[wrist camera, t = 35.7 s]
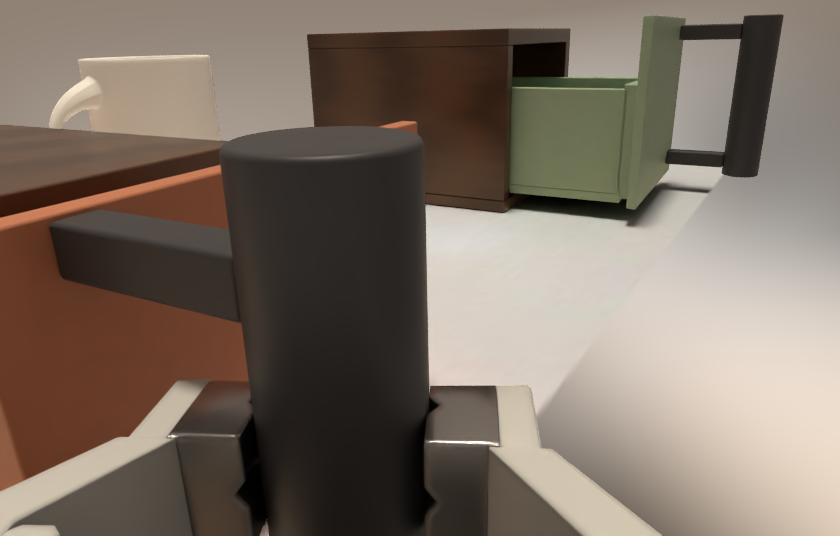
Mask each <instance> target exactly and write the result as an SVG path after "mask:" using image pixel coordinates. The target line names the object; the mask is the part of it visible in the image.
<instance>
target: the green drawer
mask: <svg viewBox="0 0 840 536" xmlns="http://www.w3.org/2000/svg"><path fill="white" fill-rule="evenodd" d="M685 20H686V19H685V18H678V17H668V16H658V15H644V19H643V30H642V41H641V52H640V62H639V74H638V78H615V77H614V78H611V77H610V78H609V77H608V78H606V77H600V78H599V77H512V104H511V141H510V179H509V192H510V193H520V194H531V195H541V196H552V197H562V198H572V199H583V200H593V201H603V202H614V203H619V202H620V201H621V200H622V199H627V203H626V208H627V209H636V208H637V207H638V206H639V204H640V203H641V202H642V201H643V200H644V198H645V197H646V196H647V195H648V194H649V192H650V191H651V190H652V189H653V188H654V186H655V185H656V184H657V183H658V181H659V180H660V179H661V178H662V177H663V175H664V174H665V173H666V172H667V171H668V169H669V164H680V165H695V166H710V167H722V166H723V167H722V174H724V175H728V176H732V177H754V176H757V175H758V169H759V162H760V156H761V150H762V144H763V138H764V132H765V126H766V120H767V113H768V107H769V101H770V95H771V89H772V83H773V77H774V71H775V65H776V58H777V52H778V46H779V40H780V34H781V27H782V22H783V15H751V16H744V21H743V24H712V25H711V24H709V25H685ZM704 39H705V40H706V39H741V42H740V49H739V55H738V63H737V70H736V77H735V83H734V91H733V98H732V105H731V111H730V118H729V125H728V132H727V139H726V146H725V153H724V152H714V151H713V152H712V151H695V150H678V149H671V143H672V134H673V126H674V117H675V108H676V99H677V90H678V81H679V73H680V63H681V55H682V47H683V40H704Z"/></svg>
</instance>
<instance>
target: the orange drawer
mask: <svg viewBox="0 0 840 536" xmlns="http://www.w3.org/2000/svg"><path fill="white" fill-rule="evenodd" d="M219 159H220V165H218V166H214V167H209V168H205V169H201V170H197V171H193V172H189V173H185V174H180V175H176V176H172V177H168V178H164V179H160V180H155V181H151V182H147V183H143V184H139V185H135V186H131V187H126V188H122V189H118V190H114V191H110V192H106V193H102V194H97V195H93V196H89V197H85V198H81V199H77V200H72V201H68V202H64V203H60V204H56V205H52V206H48V207H43V208H39V209H35V210H31V211H27V212H23V213H19V214H14V215H10V216H6V217H2V218H0V492H1V491H3V490H5V489H7V488H9V487H11V486H13V485H16V484H18V483H20V482H22V481H24V480H26V479H29V478H31V477H33V476H35V475H37V474H39V473H42V472H44V471H46V470H48V469H50V468H52V467H55V466H57V465H59V464H61V463H63V462H65V461H67V460H70V459H72V458H74V457H76V456H78V455H80V454H83V453H85V452H87V451H89V450H91V449H93V448H96V447H98V446H100V445H102V444H104V443H106V442H108V441H111V440H113V439H115V438H117V437H129V436H130V435H131V434H132V433H133V431H134V430H135V429H136V428H137V427H138V426H139V424H140V423H141V422H142V421H143V420H144V419H145V417H146V416H147V415H148V414H149V413H150V412H151V411H152V409H153V408H154V407H155V406H156V405H157V404H158V402H159V401H160V400H161V399H162V398H163V397H164V395H165V394H166V393H167V392H168V391H169V390H170V389H171V387H172V386H173V385H174V384H175V383H176V382H177V381H178V380H184V379H211V380H228V381H249V386H250V393H251V401H252V408H253V416H254V424H255V431H256V439H257V446H258V454H259V461H260V469H261V477H262V484H263V492H264V499H265V507H266V514H267V522H268V530H269V536H426V524H425V513H426V501H427V490H426V489H425V486H424V438H425V429H426V419H427V415H428V414H429V413H430V412H429V362H428V313H427V263H426V213H425V163H424V142H423V140H422V138H421V136H419V135H418V134H417V122H415V121H400V122H396V123H392V124H388V125H384V126H380V127H367V126H329V127H308V128H295V129H285V130H276V131H268V132H262V133H256V134H251V135H246V136H242V137H238V138H236V139H233V140H231V141H229V142H226V143H224V144H223V145H222V146H221V148H220V151H219Z"/></svg>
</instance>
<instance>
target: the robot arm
mask: <svg viewBox="0 0 840 536" xmlns="http://www.w3.org/2000/svg"><path fill="white" fill-rule="evenodd" d="M429 412H430V413H429V414H428V415H427V419H426V429H425V438H424V486H425V489H426V490H427V501H426V513H425V524H426V536H662V535H661V534H660V533H658V532H657V531H656V530H654V529H653V528H652V527H651V526H649V525H648V524H647V523H646V522H644V521H643V520H642V519H640V518H639V517H638V516H636V515H635V514H634V513H633V512H632V511H630V510H629V509H628V508H626V507H625V506H624V505H623V504H621V503H620V502H619V501H617V500H616V499H615V498H614V497H612V496H611V495H610V494H609V493H607V492H606V491H605V490H603V489H602V488H601V487H600V486H598V485H597V484H596V483H594V482H593V481H592V480H591V479H589V478H588V477H587V476H586V475H584V474H583V473H582V472H581V471H579V470H578V469H577V468H575V467H574V466H573V465H572V464H570V463H569V462H568V461H567V460H565V459H564V458H563V457H561V456H560V455H559V454H558V453H556V452H555V451H554V450H552V449H546V448H541V442H540V436H539V430H538V425H537V419H536V413H535V408H534V402H533V396H532V391H531V388H530V387H529V386H528V385H521V386H430V393H429ZM266 519H267V514H266V507H265V499H264V492H263V484H262V477H261V469H260V461H259V454H258V446H257V439H256V431H255V424H254V416H253V408H252V401H251V393H250V386H249V381H228V380H211V379H184V380H178V381H177V382H176V383H175V384H174V385H173V386H172V387H171V389H170V390H169V391H168V392H167V393H166V394H165V395H164V397H163V398H162V399H161V400H160V401H159V402H158V404H157V405H156V406H155V407H154V408H153V409H152V411H151V412H150V413H149V414H148V415H147V416H146V417H145V419H144V420H143V421H142V422H141V423H140V424H139V426H138V427H137V428H136V429H135V430H134V431H133V433H132V434H131V435H130V436H129V437H117V438H115V439H113V440H111V441H108V442H106V443H104V444H102V445H100V446H98V447H96V448H93V449H91V450H89V451H87V452H85V453H83V454H80V455H78V456H76V457H74V458H72V459H70V460H67V461H65V462H63V463H61V464H59V465H57V466H55V467H52V468H50V469H48V470H46V471H44V472H42V473H39V474H37V475H35V476H33V477H31V478H29V479H26V480H24V481H22V482H20V483H18V484H16V485H13V486H11V487H9V488H7V489H5V490H3V491H1V492H0V536H259V535H260V533H261V530H262V528H263V526H264V523H265V521H266Z"/></svg>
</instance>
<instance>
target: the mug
mask: <svg viewBox="0 0 840 536" xmlns="http://www.w3.org/2000/svg"><path fill="white" fill-rule="evenodd" d="M78 66H79V70H80V75H81V80H82V81H81V82H80V83H78V84H76V85H75V86H74V87H72V88H71V89H69V90H68V91H67V92H66V93H65V94H64V95H63V96H62V97H61V98H60V100H59V101H58V102H57V104H56V106H55V108H54V110H53V111H52V114H51V117H50V121H49V128H53V129H62V127H63V125H64V124H65V122H66V121H67V120H68V119H69V118H70V117H71V116H72V115H74V114H76V113H78V112H80V111H82V110H86V109H87V110H88V116H89V121H90V126H91V131H94V132H108V133H122V134H135V135H149V136H163V137H176V138H190V139H204V140H218V141H221V138H220V130H219V123H218V115H217V108H216V101H215V92H214V84H213V77H212V69H211V62H210V56H208V55H169V56H135V57H109V58H89V59H79V60H78Z"/></svg>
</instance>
